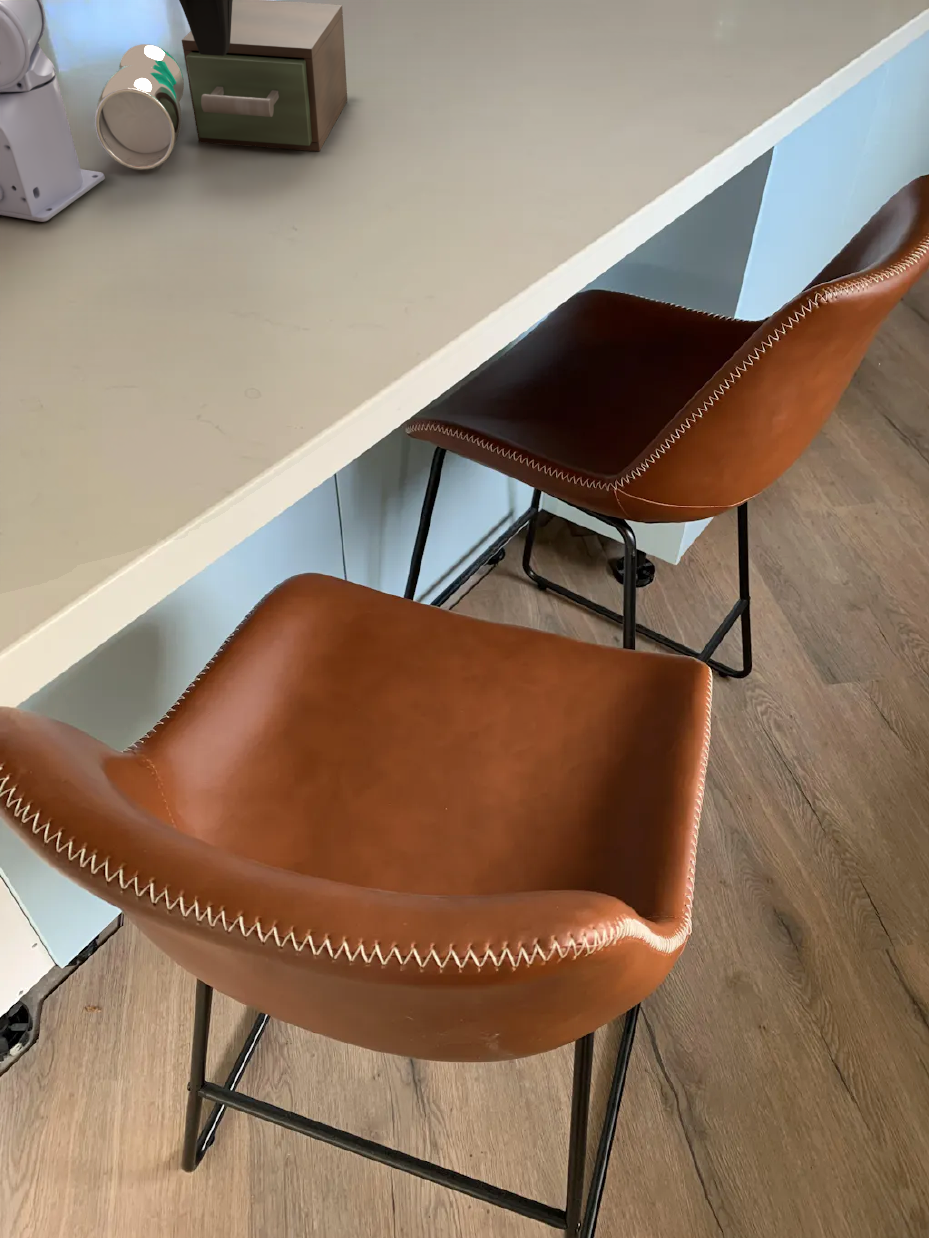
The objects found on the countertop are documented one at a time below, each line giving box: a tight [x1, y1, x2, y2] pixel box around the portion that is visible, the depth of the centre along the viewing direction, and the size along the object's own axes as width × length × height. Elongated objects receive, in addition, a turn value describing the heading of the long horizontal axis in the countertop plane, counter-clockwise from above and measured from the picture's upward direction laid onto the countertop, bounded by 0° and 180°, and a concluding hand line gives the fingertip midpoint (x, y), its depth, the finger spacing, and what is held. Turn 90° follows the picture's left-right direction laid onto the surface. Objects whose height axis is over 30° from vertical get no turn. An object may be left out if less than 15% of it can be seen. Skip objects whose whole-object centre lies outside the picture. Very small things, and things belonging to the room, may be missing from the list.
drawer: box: [186, 52, 312, 146], centre depth 88 cm, size 17×10×7 cm, turn 174°
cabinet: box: [181, 0, 348, 152], centre depth 91 cm, size 14×12×9 cm
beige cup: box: [94, 43, 185, 171], centre depth 87 cm, size 7×7×15 cm
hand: (214, 52), depth 76 cm, fingers closed
